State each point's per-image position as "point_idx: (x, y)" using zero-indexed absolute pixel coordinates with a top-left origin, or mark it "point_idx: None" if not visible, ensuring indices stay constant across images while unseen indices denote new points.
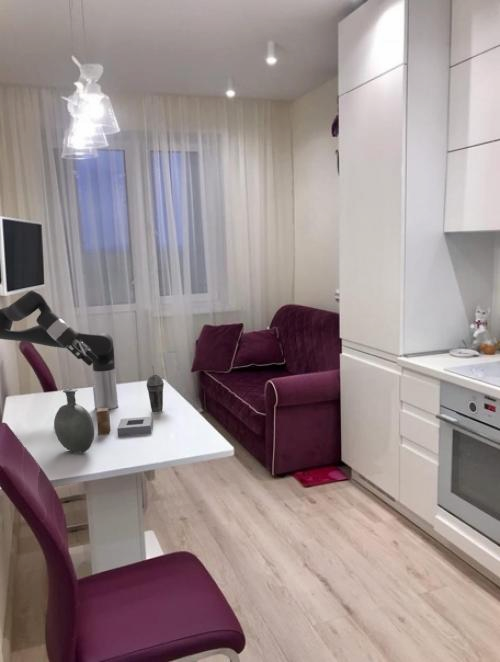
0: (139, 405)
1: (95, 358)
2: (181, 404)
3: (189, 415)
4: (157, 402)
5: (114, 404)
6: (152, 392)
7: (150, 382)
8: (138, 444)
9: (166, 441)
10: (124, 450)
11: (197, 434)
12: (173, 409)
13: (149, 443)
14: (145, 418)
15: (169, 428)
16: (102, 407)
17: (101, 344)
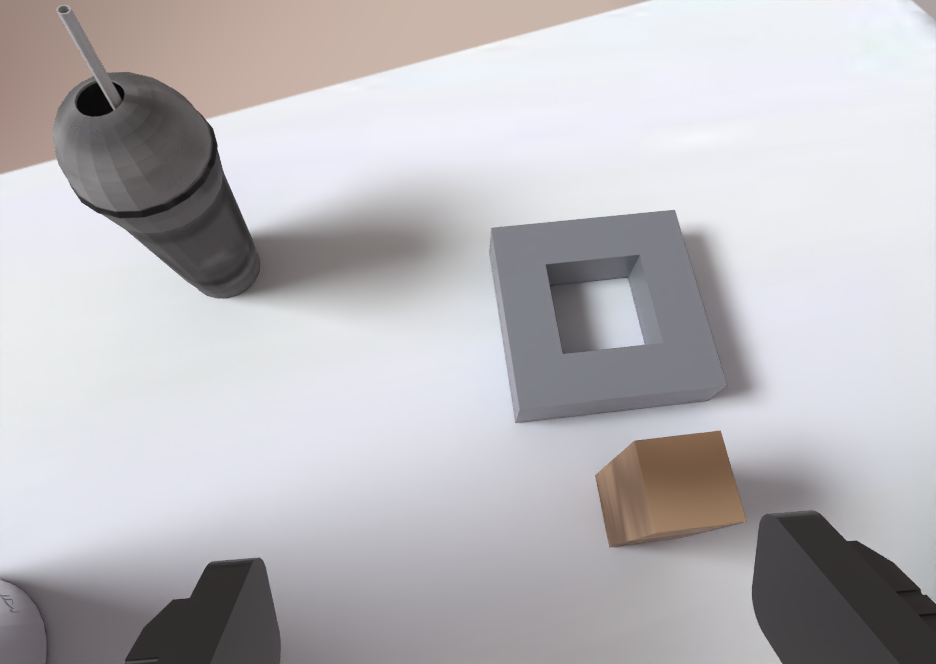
0: (25, 408)
1: (258, 612)
2: None
3: (371, 100)
4: (243, 220)
5: (3, 591)
6: (218, 200)
7: (183, 155)
8: (832, 265)
9: (780, 152)
10: (925, 314)
11: (681, 48)
12: None
13: (813, 218)
14: (532, 258)
15: (583, 163)
16: None
17: None
